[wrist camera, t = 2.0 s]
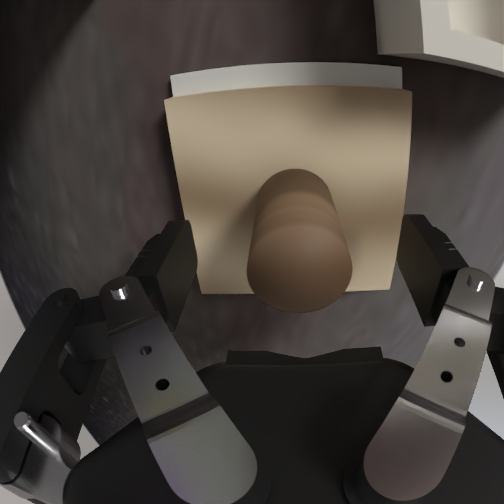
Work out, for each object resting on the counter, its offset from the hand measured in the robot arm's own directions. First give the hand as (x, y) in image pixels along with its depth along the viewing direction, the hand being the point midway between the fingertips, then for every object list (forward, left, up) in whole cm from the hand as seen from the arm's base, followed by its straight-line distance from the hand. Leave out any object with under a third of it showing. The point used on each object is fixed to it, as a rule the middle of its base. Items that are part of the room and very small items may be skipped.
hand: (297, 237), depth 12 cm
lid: (0, 0, -4) cm, 4 cm away
